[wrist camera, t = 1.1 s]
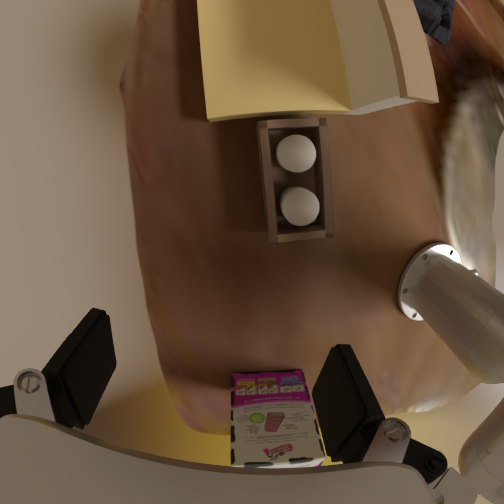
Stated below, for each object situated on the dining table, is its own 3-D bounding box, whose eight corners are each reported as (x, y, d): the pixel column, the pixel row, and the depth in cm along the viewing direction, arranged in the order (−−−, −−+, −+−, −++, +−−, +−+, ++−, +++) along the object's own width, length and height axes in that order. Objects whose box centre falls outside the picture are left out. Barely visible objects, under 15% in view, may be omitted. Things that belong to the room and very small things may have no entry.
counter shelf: (331, -27, 19) (367, -83, 6) (363, 117, 27) (438, 102, 13) (198, -26, 19) (180, -92, 6) (211, 124, 27) (184, 99, 13)
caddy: (314, 122, 27) (327, 117, 23) (321, 226, 31) (334, 238, 27) (255, 125, 27) (258, 120, 23) (266, 232, 31) (270, 245, 27)
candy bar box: (232, 392, 40) (231, 479, 25) (230, 371, 38) (228, 465, 23) (300, 388, 40) (319, 472, 25) (303, 368, 39) (327, 457, 23)
